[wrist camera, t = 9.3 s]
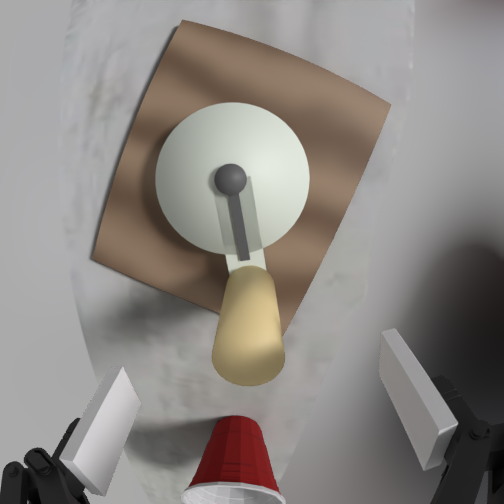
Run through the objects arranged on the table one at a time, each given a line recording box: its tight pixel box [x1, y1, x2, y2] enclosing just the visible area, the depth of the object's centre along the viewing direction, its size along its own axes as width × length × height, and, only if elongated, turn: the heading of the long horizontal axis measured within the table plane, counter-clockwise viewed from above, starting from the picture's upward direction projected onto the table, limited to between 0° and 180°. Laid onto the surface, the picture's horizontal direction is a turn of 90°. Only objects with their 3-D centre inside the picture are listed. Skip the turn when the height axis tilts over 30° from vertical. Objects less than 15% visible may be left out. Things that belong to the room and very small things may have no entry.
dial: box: [155, 103, 310, 386], centre depth 20 cm, size 17×12×12 cm
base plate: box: [93, 20, 391, 336], centre depth 26 cm, size 24×20×1 cm
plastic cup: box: [181, 416, 286, 504], centre depth 30 cm, size 11×11×12 cm
